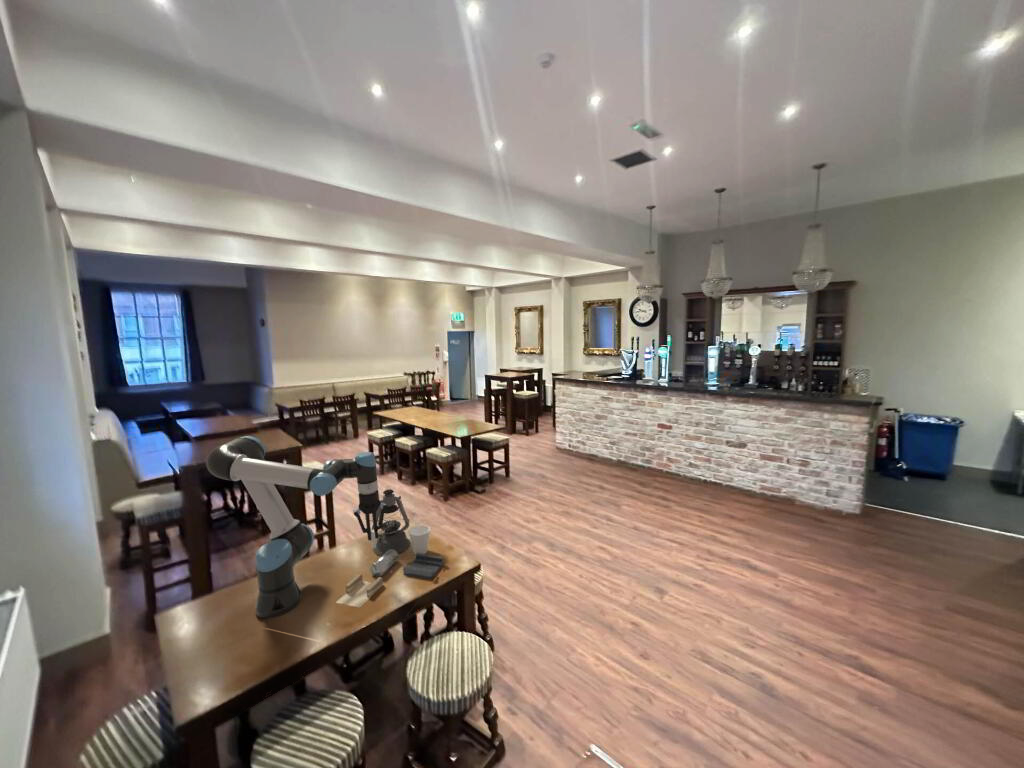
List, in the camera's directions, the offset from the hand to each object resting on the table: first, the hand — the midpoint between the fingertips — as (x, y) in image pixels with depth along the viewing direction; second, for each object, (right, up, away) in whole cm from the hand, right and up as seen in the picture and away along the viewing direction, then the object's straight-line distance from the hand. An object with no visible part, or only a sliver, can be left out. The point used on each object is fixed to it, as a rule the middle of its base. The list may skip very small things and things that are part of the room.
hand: (373, 546), depth 164 cm
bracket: (-3, -16, -7) cm, 18 cm away
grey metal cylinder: (+2, -14, +10) cm, 17 cm away
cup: (+14, -12, +22) cm, 29 cm away
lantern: (-2, -11, +29) cm, 31 cm away
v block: (+19, -13, +8) cm, 25 cm away
